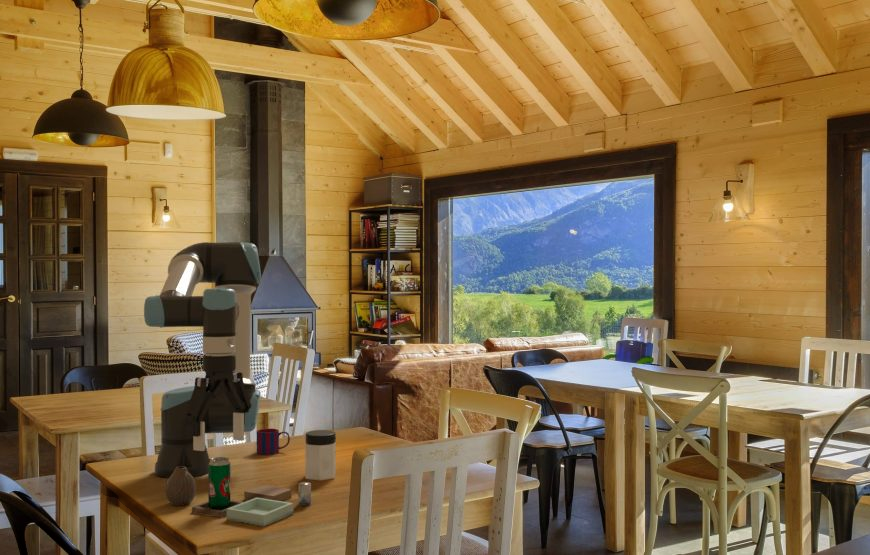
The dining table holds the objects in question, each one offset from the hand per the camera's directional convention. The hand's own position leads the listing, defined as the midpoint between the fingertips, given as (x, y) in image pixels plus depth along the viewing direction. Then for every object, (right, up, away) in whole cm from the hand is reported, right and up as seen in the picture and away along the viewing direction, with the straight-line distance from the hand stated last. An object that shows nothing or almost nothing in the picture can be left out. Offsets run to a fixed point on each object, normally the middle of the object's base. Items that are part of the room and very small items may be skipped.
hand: (219, 445), depth 199 cm
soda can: (0, -16, 0) cm, 16 cm away
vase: (-11, -15, +6) cm, 20 cm away
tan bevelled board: (+9, -16, +10) cm, 21 cm away
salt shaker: (+19, -15, +5) cm, 25 cm away
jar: (+19, -15, +32) cm, 40 cm away
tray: (+11, -15, -5) cm, 19 cm away
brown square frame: (0, -15, 0) cm, 15 cm away
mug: (+1, -15, +62) cm, 64 cm away
